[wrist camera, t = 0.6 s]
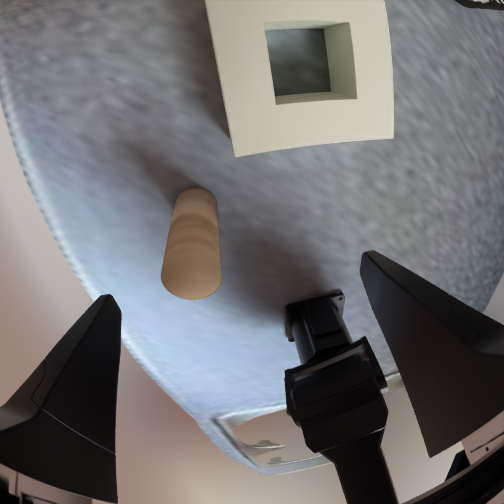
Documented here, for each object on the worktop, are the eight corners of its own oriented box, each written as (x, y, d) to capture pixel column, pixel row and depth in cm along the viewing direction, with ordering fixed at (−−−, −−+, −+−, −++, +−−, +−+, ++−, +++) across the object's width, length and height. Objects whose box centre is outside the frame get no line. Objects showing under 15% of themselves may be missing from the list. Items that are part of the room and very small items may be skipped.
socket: (364, 123, 18) (393, 138, 15) (230, 139, 18) (235, 157, 15) (352, -1, 12) (382, -10, 9) (205, 4, 12) (203, -12, 9)
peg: (221, 219, 22) (227, 293, 15) (181, 228, 22) (172, 303, 15) (212, 182, 20) (213, 248, 14) (169, 192, 20) (152, 261, 13)
